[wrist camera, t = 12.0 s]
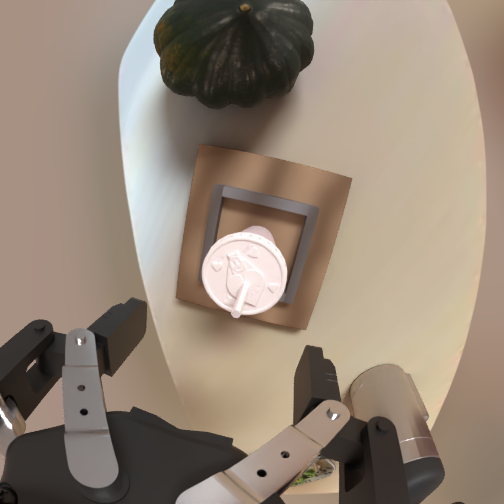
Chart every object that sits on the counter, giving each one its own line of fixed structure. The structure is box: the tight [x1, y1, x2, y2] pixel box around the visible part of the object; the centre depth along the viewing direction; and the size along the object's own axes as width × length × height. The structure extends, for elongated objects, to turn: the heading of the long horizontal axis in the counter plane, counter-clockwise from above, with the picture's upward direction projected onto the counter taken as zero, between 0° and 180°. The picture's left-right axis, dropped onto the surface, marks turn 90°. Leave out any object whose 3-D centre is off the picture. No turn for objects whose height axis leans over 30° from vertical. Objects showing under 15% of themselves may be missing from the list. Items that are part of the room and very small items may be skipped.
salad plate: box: [290, 456, 336, 487], centre depth 43 cm, size 19×18×5 cm
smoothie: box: [202, 226, 287, 318], centre depth 23 cm, size 6×6×14 cm
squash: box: [154, 0, 314, 109], centre depth 20 cm, size 14×15×15 cm
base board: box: [176, 144, 352, 330], centre depth 30 cm, size 16×18×4 cm
